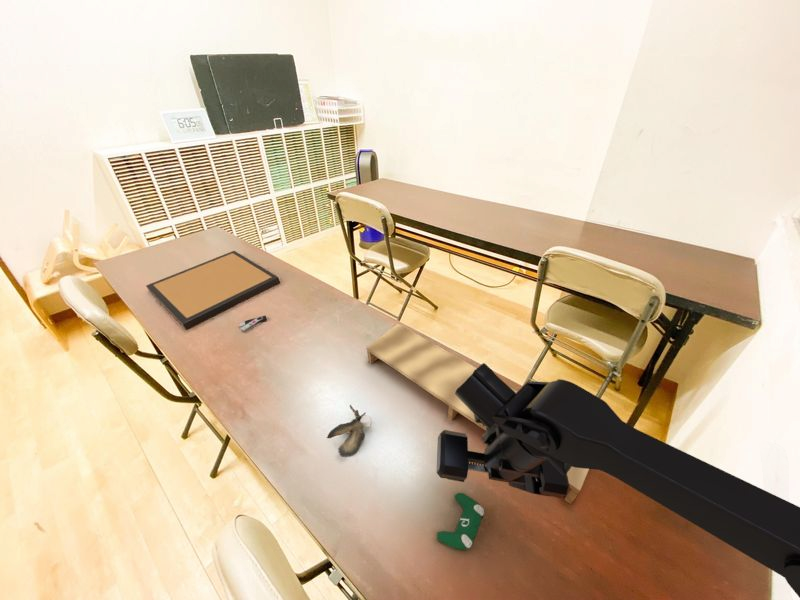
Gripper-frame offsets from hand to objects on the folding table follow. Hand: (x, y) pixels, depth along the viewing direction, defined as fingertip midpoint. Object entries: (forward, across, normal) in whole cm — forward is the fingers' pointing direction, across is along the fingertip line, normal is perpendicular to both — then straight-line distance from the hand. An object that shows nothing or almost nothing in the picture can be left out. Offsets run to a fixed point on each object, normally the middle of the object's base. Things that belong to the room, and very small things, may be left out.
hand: (482, 477), depth 54 cm
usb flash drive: (+33, +64, -44) cm, 84 cm away
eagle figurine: (+20, +24, -10) cm, 32 cm away
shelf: (+17, -2, -22) cm, 28 cm away
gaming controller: (+13, 0, +5) cm, 14 cm away
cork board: (+41, +89, -64) cm, 117 cm away
